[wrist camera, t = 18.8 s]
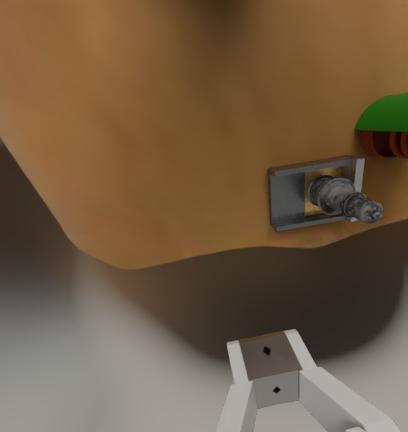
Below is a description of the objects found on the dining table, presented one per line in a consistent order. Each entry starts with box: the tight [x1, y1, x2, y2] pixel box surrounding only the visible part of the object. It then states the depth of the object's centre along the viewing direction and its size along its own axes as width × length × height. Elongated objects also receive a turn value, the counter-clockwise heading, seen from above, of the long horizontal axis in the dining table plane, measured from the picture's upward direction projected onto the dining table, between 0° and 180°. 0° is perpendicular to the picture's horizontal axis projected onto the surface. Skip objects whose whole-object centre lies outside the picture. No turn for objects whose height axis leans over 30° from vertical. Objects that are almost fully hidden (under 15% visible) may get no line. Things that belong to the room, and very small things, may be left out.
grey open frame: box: [268, 155, 365, 232], centre depth 36 cm, size 13×10×4 cm
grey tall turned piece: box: [308, 175, 383, 223], centre depth 31 cm, size 6×6×12 cm
